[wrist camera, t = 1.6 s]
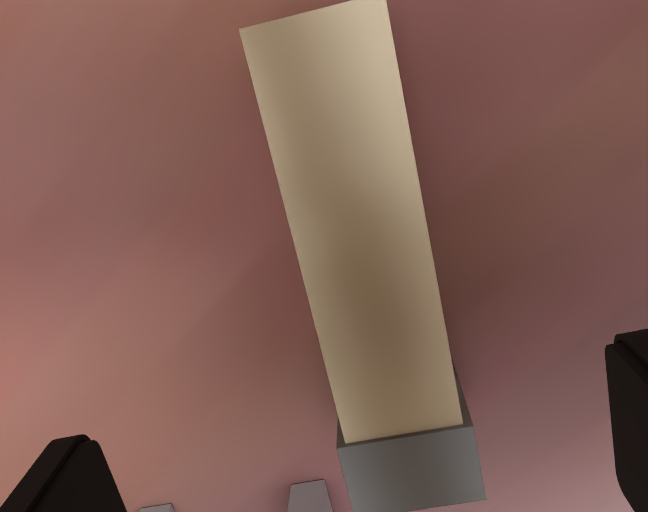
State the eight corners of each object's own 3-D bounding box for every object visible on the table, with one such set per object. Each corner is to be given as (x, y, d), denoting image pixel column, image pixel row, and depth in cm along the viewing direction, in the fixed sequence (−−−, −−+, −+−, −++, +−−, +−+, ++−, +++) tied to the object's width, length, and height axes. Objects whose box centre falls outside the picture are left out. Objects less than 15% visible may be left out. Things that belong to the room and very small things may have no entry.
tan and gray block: (384, 6, 21) (396, -12, 15) (456, 400, 26) (486, 499, 20) (260, 37, 22) (226, 31, 16) (354, 417, 27) (354, 519, 21)
